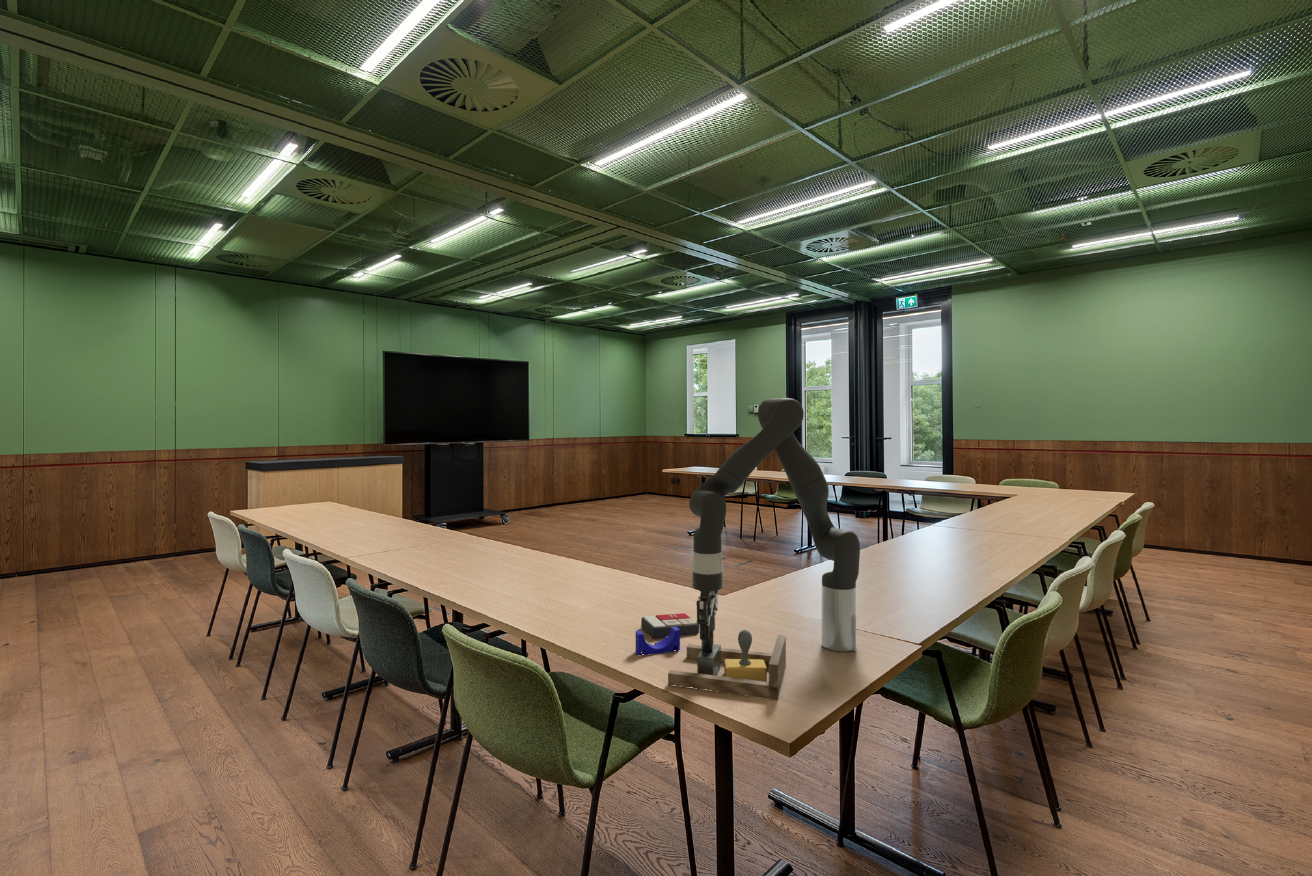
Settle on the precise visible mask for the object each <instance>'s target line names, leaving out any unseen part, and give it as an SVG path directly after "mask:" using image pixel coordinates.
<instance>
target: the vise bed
mask: <svg viewBox="0 0 1312 876" xmlns="http://www.w3.org/2000/svg"><path fill="white" fill-rule="evenodd" d="M786 640H787V636H786V635H781V634H778V635H777V637H776V641H775V644H774V647H773V650H772V652H762V651H754V650H753V651H752V650H749V651H748V659H760V660H764V662H765V665H766V668H768V681H767V682H764V681H756V680H748V679H739V678H731V677H725V676H723V675H716V676H715V675H707V674H699V673H697V672H692V671H691V672H688V671H682V670H681V671H680V670H673V669H670V670H669V671H668V673H667V686H668V685H676V686H682V687H693V688H697V689H696V690H698V689H707V690H712V691H711V692H713V691H718V692H717V693H721V694H722V693H723V694H728V693H730V694H729V695H737V696H744V695H747V696H746V697H752V698H759V697H761V698H762V699H768V700H776V701H778V700H779V697H780V692H781V688H782V683H783V680H784V675H785V673H786V672H785V671H786V667H787V660H786V659H787V654H786V653H787V644H786V643H787V641H786ZM701 650H702V645H696V644H690V643H689V644H688V645H687V646H686V659H691V660H692V659H694V660H697V656H698V655H699V653H700V652H701ZM725 659H742V651H741V649H733V648H727V647H725V648H724V647H721V663H724V660H725ZM682 687H681V688H682Z"/></svg>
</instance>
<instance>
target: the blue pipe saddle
mask: <svg viewBox="0 0 1312 876" xmlns="http://www.w3.org/2000/svg"><path fill="white" fill-rule="evenodd" d="M674 650H676V651H674ZM678 650H680V651H681V636H680V630H679V629H678V628H677V627H671V632H670V635H669V636H666V637H665V638H662V639H661V640H659V641H657V642H654V644H651V643H648V642H647V641H646V639H645V634H644V633H643V630H642V631H641V630H635V653H636V655H637V656H638V655H642V654H644V655H642V656H648V654H650V655H657V653H658V654H663V653H664V652H665V653H672V652H673V653H674V652H679V651H678ZM641 652H642V653H641Z"/></svg>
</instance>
